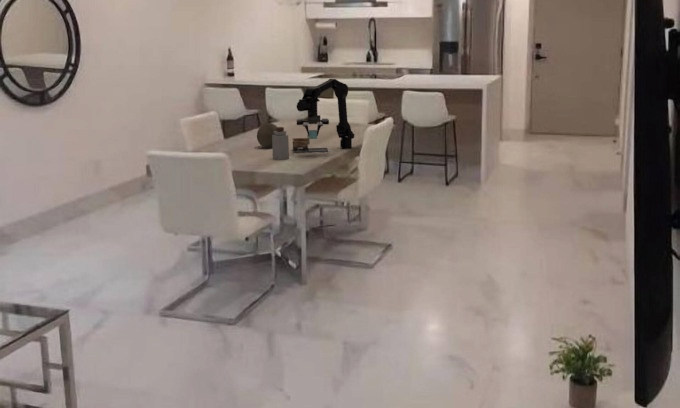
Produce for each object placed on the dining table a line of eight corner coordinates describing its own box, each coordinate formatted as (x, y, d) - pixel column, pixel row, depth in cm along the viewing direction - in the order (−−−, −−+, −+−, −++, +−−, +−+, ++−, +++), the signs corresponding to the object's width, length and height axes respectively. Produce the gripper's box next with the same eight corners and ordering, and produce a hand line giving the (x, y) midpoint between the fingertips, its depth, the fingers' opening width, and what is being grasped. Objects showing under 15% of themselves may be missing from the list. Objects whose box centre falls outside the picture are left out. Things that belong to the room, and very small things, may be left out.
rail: (327, 149, 461) (327, 147, 460) (328, 152, 450) (328, 150, 450) (292, 149, 459) (292, 148, 459) (293, 153, 449) (292, 151, 448)
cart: (309, 147, 460) (308, 134, 458) (309, 150, 448) (309, 137, 447) (292, 147, 459) (292, 135, 458) (292, 151, 448) (292, 138, 446)
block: (316, 137, 442) (316, 130, 441) (317, 138, 438) (316, 131, 437) (309, 137, 442) (308, 130, 441) (309, 139, 437) (309, 131, 436)
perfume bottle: (279, 160, 428) (277, 128, 423) (272, 158, 433) (271, 127, 429) (289, 158, 432) (288, 127, 427) (282, 156, 437) (281, 126, 432)
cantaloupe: (276, 149, 461) (275, 125, 457) (254, 149, 463) (253, 125, 460) (282, 145, 474) (282, 122, 470) (261, 145, 477) (260, 121, 473)
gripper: (296, 111, 427) (297, 139, 431) (329, 111, 428) (329, 138, 432) (296, 109, 438) (296, 136, 442) (328, 108, 439) (328, 135, 443)
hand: (313, 136), depth 439 cm, fingers closed on block, 4 cm apart
